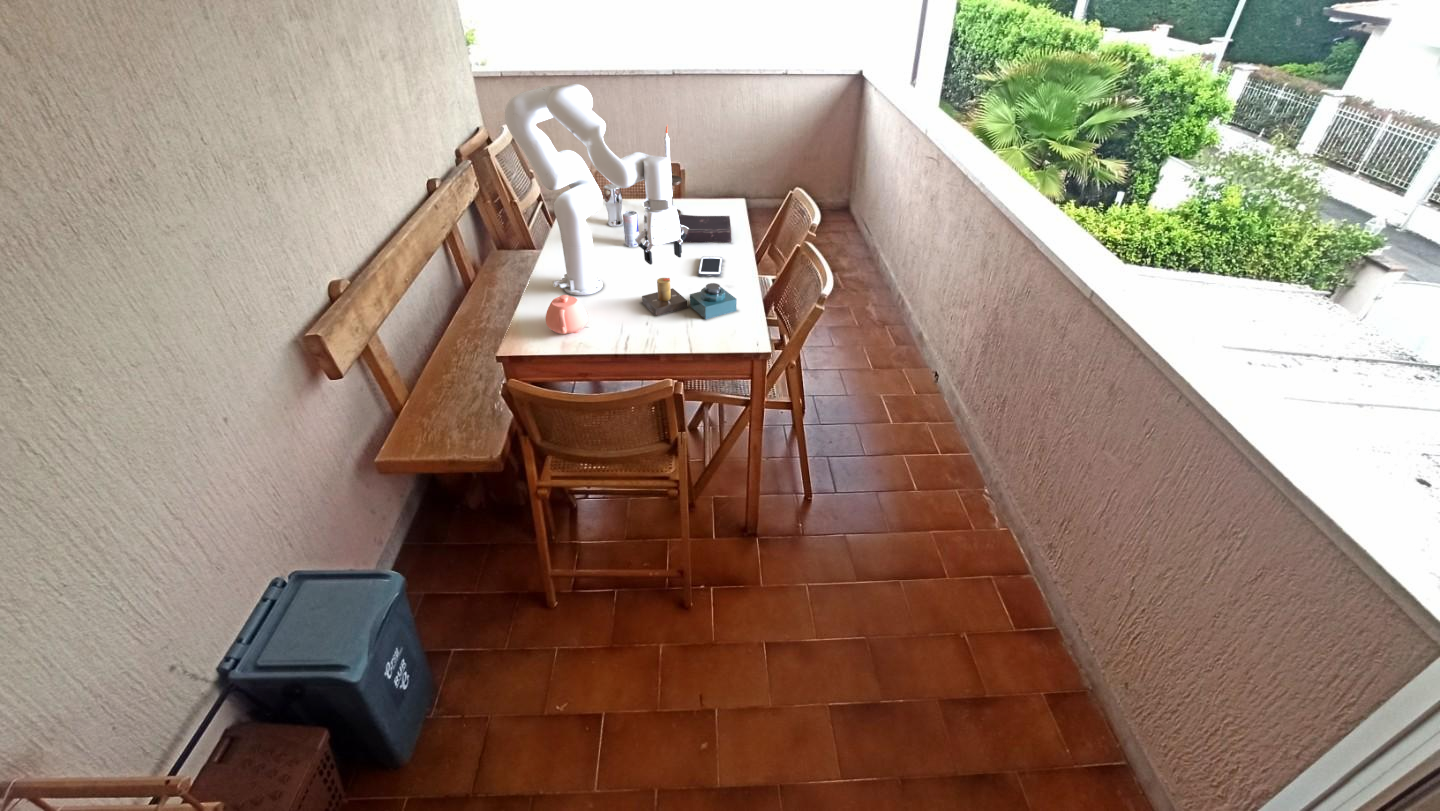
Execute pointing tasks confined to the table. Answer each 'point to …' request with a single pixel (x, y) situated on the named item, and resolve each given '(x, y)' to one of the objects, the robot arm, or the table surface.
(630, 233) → the energy drink
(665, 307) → the knob panel
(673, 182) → the candlestick
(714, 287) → the dark grey push button
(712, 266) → the cell phone
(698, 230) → the diary
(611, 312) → the table surface
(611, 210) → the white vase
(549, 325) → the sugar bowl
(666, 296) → the knob
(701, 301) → the teal push button box
